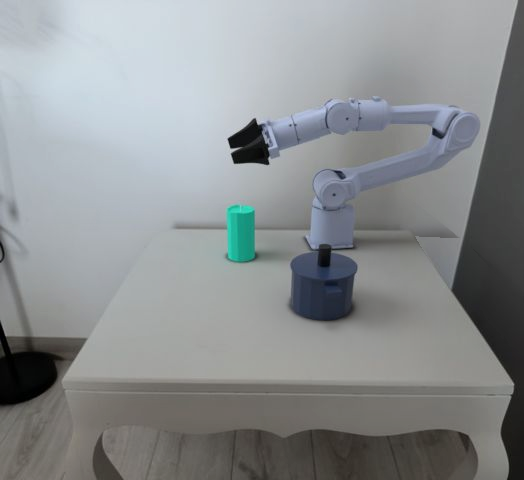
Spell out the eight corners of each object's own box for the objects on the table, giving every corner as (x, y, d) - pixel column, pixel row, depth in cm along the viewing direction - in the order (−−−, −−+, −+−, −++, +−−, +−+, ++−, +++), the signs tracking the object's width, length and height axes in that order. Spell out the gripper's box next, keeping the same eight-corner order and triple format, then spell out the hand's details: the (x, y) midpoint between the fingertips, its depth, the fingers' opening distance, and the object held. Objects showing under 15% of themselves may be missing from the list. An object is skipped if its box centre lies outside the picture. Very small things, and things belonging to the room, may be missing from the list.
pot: (338, 283, 100) (341, 247, 96) (362, 326, 87) (367, 286, 83) (283, 287, 99) (284, 250, 95) (300, 330, 86) (302, 290, 82)
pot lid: (346, 255, 95) (348, 232, 92) (365, 283, 85) (368, 258, 83) (284, 258, 93) (285, 235, 91) (297, 287, 84) (298, 261, 81)
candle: (251, 262, 109) (251, 207, 102) (224, 260, 110) (222, 205, 103) (257, 251, 113) (257, 198, 107) (231, 249, 114) (229, 196, 108)
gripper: (283, 98, 106) (221, 119, 107) (296, 124, 96) (227, 146, 97) (291, 131, 111) (231, 150, 112) (304, 159, 101) (238, 180, 102)
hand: (230, 151), depth 105 cm, fingers open, 7 cm apart
